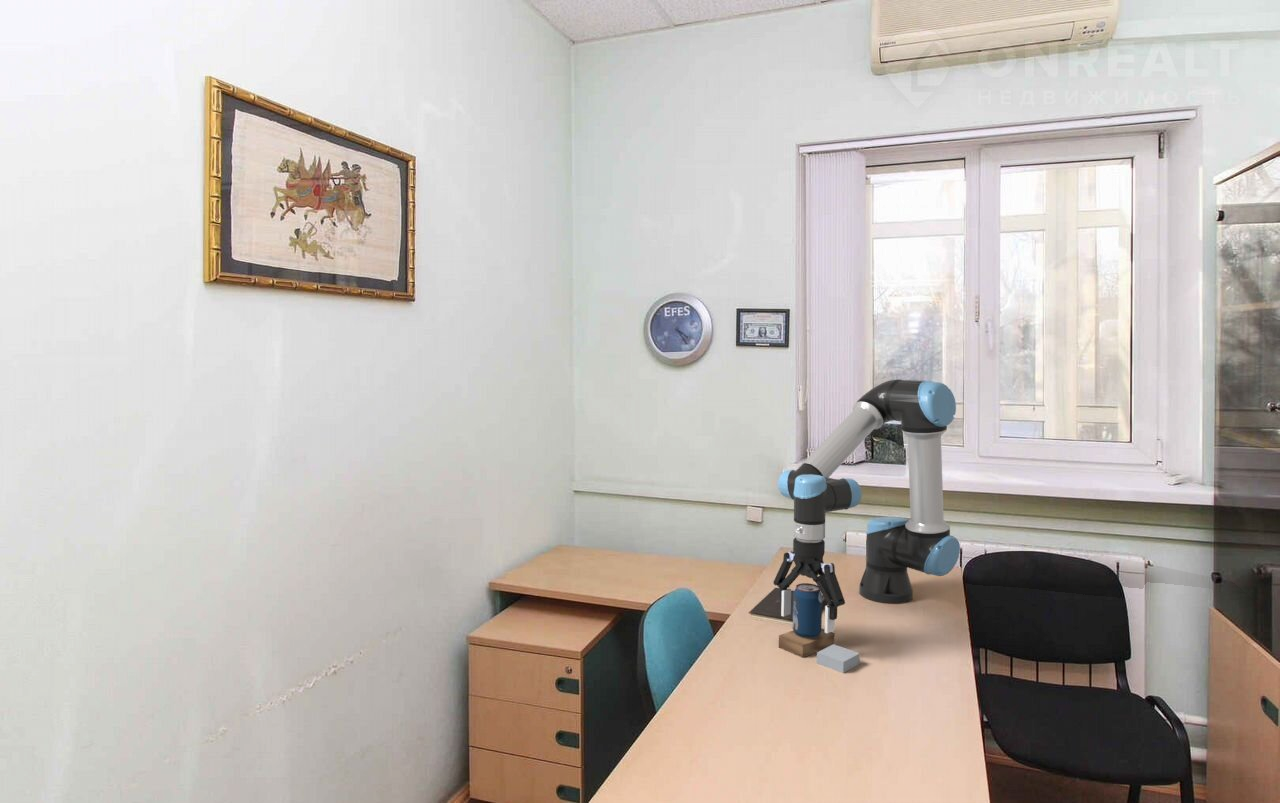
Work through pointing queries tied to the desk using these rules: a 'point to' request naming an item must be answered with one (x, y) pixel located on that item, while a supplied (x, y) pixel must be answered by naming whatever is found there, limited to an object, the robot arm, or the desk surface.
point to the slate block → (838, 658)
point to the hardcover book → (774, 609)
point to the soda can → (807, 611)
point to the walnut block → (805, 643)
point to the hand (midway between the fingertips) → (807, 623)
